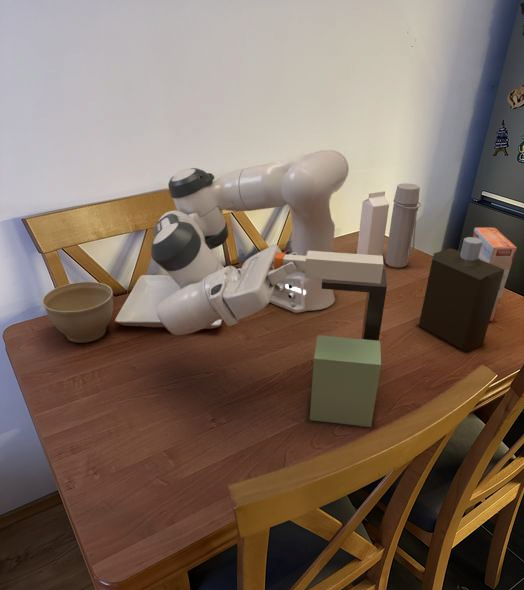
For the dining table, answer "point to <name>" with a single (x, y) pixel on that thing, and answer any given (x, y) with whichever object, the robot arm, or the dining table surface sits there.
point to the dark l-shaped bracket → (373, 302)
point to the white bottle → (335, 266)
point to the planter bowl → (80, 310)
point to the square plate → (148, 302)
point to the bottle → (460, 295)
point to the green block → (345, 380)
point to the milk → (373, 224)
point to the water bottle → (402, 225)
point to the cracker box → (495, 255)
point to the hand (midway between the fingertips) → (296, 261)
